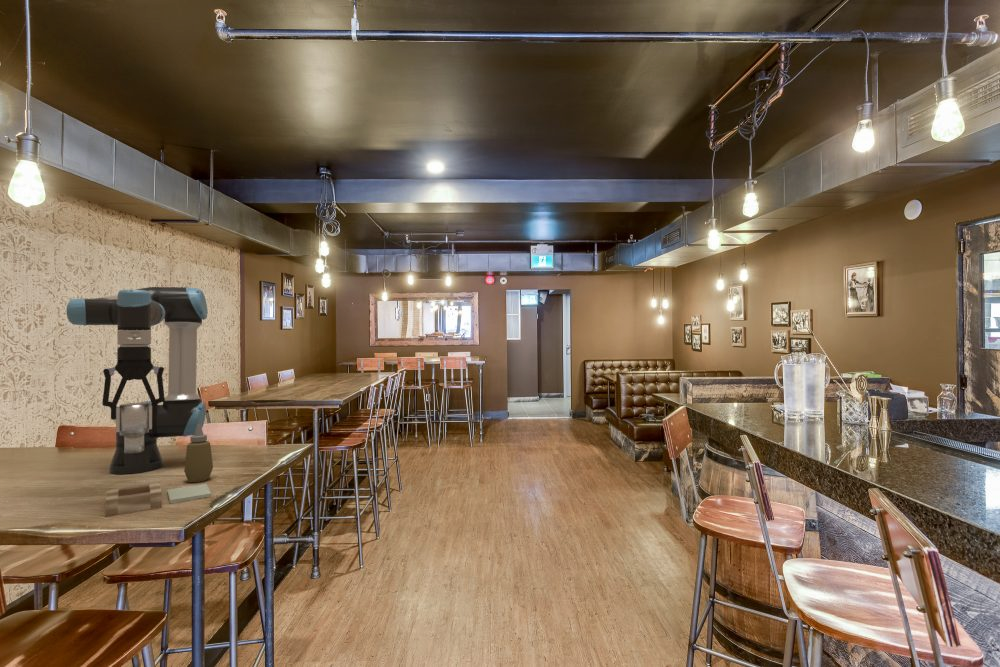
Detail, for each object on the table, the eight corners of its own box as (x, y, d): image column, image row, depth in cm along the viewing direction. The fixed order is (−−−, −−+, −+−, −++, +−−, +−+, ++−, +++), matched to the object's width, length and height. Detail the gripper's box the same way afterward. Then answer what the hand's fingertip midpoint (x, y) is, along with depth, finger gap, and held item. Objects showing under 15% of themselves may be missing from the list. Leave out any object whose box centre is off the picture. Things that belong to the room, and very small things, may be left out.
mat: (167, 493, 149) (167, 489, 149) (206, 486, 155) (206, 483, 155) (169, 503, 139) (169, 500, 139) (211, 496, 145) (211, 493, 145)
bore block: (107, 504, 139) (107, 489, 139) (159, 496, 146) (159, 482, 146) (105, 516, 129) (105, 501, 129) (161, 507, 136) (161, 492, 136)
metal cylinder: (119, 451, 139) (119, 403, 139) (148, 447, 142) (148, 402, 143) (119, 455, 133) (119, 406, 133) (149, 452, 137) (149, 404, 137)
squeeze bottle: (178, 481, 161) (178, 425, 161) (203, 475, 168) (203, 421, 168) (193, 485, 157) (193, 427, 157) (218, 478, 164) (218, 423, 164)
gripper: (87, 346, 129) (87, 436, 129) (177, 345, 141) (177, 427, 141) (89, 346, 135) (89, 431, 135) (175, 345, 147) (175, 424, 147)
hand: (134, 429), depth 138 cm, fingers closed on metal cylinder, 6 cm apart
